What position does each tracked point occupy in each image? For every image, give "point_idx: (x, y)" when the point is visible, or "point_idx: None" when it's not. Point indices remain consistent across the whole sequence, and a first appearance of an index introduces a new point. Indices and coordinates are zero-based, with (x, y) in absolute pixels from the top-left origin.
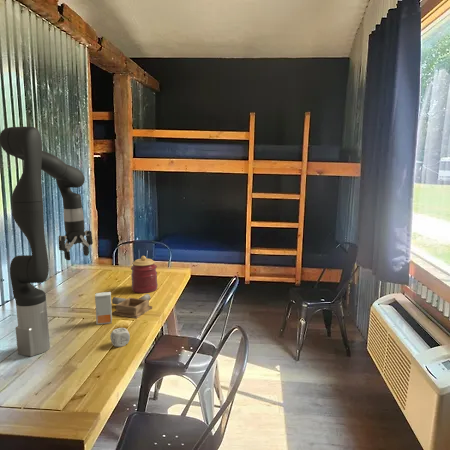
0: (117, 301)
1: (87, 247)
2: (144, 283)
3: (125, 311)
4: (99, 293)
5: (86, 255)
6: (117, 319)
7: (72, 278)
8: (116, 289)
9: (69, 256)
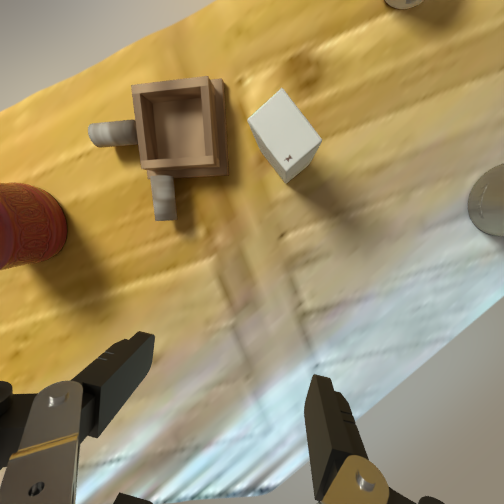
0: (172, 198)
1: (89, 380)
2: (25, 201)
3: (215, 128)
4: (284, 150)
5: (153, 339)
6: None
7: None
8: (75, 301)
9: (329, 398)
